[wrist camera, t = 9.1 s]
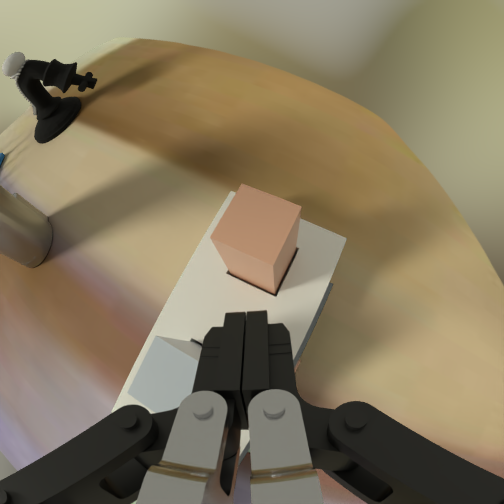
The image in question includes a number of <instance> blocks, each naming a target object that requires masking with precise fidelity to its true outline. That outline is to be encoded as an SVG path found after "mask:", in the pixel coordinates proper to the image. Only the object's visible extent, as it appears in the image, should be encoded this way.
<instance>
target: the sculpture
mask: <svg viewBox="0 0 504 504" xmlns="http://www.w3.org/2000/svg"><path fill="white" fill-rule="evenodd" d="M76 69H77V63H76V62H75V63H73V64H62V63H60V62H59V61H57V60H56V59H54V60H52V61H51V62H50V63H49V62H45V61H38V60H26V61H25V56H24V54H23V53H21V52H15V53H12V54H11V55H9V56H8V57H7V58H6V60H5V61H4V63H3V67H2V71H3V73H4V75H6V76H10V77H11V79H15V81H16V84H17V87H18V86H19V87H18V89H20V90H19V91H20V92H21V94H22V95H23V96H24V98H26V97H27V98H26V100H28V101H29V102H30V103H32V107H33V114H34V115H37V120H38V123H37V125H36V128H35V135H34V137H35V140H36V141H37V142H38V143H46V142H48V141H50V140H52V139H53V138H55V137H57V136H58V135H59V134H60V133H61V132H63V131H64V130H65V129H66V128H67V127H68V126H69V125H70V124H71V122H72V121H73V120H74V119H75V117H76V116H77V114H78V112H79V110H80V108H81V102H80V100H79V98H77V97H66V98H63V99H61V97H52V96H51V95H50V94H49V93H48V92H47V90H46V89H45V88H44V87H43V85H44V86H56V87H58V88H59V89H61V90H62V92H63V93H65V92H66V91H67V90H68V88H69V87H70V86H71V84H72V85H79V87H78V90H79V91H80V92H83V91H85V89H86V87H88V88H91V89H94V87H95V84H96V82H97V79H96V78H92V76H93V74H92V73H91V72H87V73H86V75H85V76H82V75H78V74H76ZM40 80H42V81H43V85H42V84H41V82H40Z"/></svg>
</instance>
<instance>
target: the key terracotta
mask: <svg viewBox="0 0 504 504" xmlns="http://www.w3.org/2000/svg"><path fill="white" fill-rule="evenodd" d="M301 209H302V206H299V205H297V204H294V203H292V202H289V201H287V200H284V199H282V198H279V197H276V196H274V195H271V194H269V193H266V192H263V191H261V190H258V189H255V188H253V187H250V186H247V185H245V184H241V186H240V188H239V189H238V191H237V192H236V194H235V196H234V197H233V199H232V201H231V202H230V204H229V206H228V207H227V209H226V211H225V212H224V214H223V216H222V217H221V219H220V221H219V223H218V224H217V226H216V228H215V229H214V231H213V233H212V234H211V236H210V238H211V240H212V242H213V244H214V245H215V247H216V249H217V251H218V252H219V254H220V256H221V258H222V259H223V261H224V263H225V265H226V266H227V268H228V270H229V271H230V273H231V275H233V276H235V277H237V278H239V279H241V280H243V281H246V282H248V283H250V284H252V285H254V286H256V287H258V288H260V289H263V290H265V291H267V292H269V293H271V294H273V295H275V294H276V292H277V289H278V287H279V285H280V283H281V281H282V279H283V277H284V275H285V273H286V271H287V269H288V267H289V265H290V263H291V260H292V258H293V256H294V254H295V250H296V244H297V237H298V230H299V223H300V217H301Z"/></svg>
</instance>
